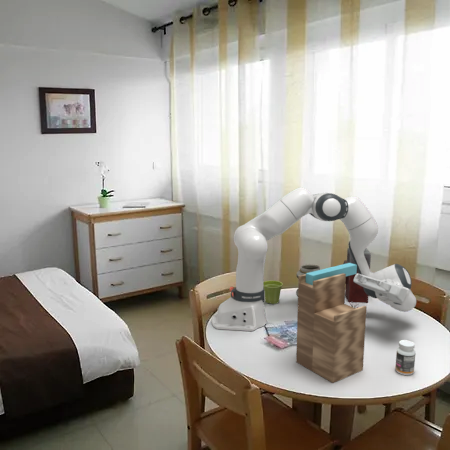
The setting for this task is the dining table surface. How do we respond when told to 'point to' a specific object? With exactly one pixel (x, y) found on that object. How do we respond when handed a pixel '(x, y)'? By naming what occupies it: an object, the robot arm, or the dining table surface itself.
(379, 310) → the dining table surface
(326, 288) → the stepped wooden block
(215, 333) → the dining table surface
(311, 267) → the apothecary jar
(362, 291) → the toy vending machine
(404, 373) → the pill bottle
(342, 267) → the bar
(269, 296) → the plant pot
